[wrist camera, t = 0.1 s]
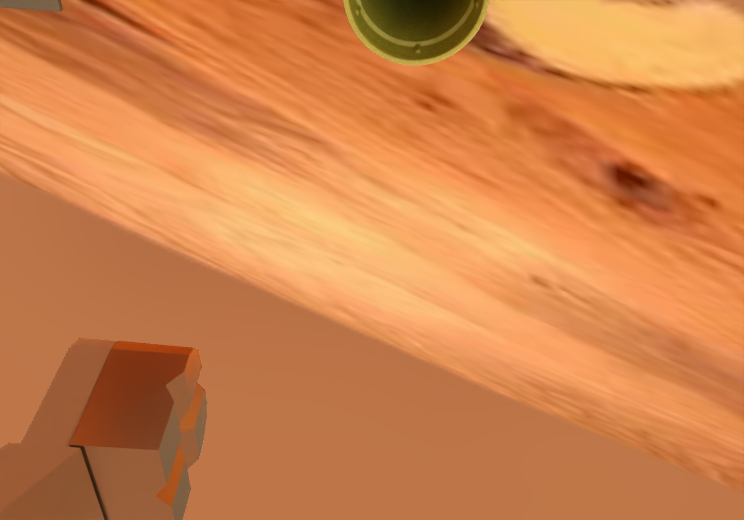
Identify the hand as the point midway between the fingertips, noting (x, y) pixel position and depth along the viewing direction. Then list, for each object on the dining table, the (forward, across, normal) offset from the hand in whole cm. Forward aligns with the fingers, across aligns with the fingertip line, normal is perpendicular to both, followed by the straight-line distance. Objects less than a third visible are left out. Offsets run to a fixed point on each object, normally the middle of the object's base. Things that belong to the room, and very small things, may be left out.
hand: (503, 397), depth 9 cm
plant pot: (+48, 0, +8) cm, 49 cm away
